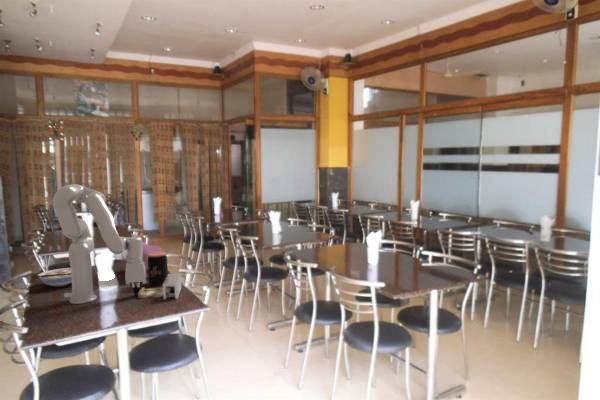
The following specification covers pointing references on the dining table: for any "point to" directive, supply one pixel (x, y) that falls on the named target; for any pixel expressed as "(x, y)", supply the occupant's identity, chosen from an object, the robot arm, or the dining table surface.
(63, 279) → the ramen bowl
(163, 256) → the coffee jar
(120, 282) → the dining table surface
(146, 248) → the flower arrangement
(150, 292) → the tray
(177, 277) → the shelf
